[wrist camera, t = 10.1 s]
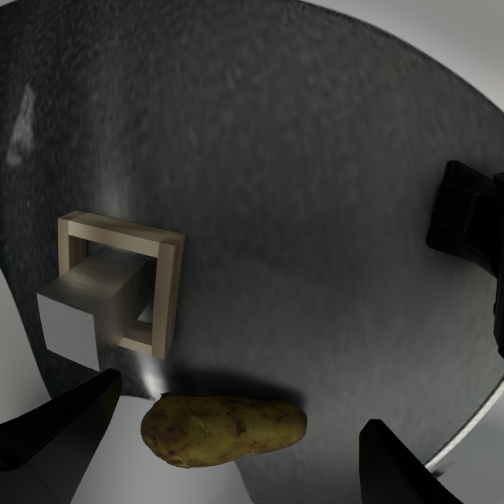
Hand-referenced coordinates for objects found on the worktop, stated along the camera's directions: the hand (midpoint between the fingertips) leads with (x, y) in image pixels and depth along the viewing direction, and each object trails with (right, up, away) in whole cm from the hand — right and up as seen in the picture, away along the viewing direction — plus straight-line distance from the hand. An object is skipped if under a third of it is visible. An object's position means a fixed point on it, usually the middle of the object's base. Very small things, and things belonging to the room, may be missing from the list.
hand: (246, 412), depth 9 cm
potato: (-2, -8, +16) cm, 18 cm away
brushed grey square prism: (-9, +3, +12) cm, 16 cm away
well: (-10, +3, +12) cm, 16 cm away
